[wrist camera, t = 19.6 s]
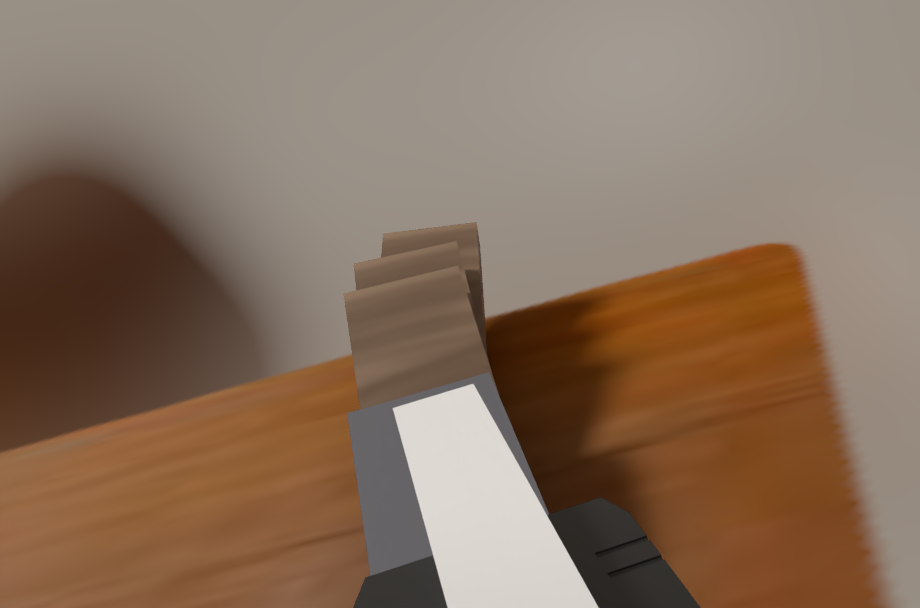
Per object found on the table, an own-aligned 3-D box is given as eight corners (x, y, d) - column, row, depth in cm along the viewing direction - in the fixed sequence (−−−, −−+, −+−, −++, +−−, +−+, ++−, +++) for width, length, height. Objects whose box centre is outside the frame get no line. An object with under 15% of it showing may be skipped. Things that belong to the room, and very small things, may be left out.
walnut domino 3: (518, 457, 25) (457, 265, 32) (372, 496, 25) (343, 293, 32) (522, 483, 26) (462, 292, 33) (382, 519, 26) (352, 319, 33)
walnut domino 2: (500, 405, 28) (456, 241, 36) (372, 434, 28) (353, 263, 35) (504, 429, 30) (461, 265, 37) (381, 457, 29) (361, 287, 37)
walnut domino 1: (485, 363, 32) (476, 222, 39) (371, 375, 32) (383, 233, 40) (489, 387, 33) (479, 245, 40) (379, 398, 34) (389, 256, 41)
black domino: (596, 625, 17) (489, 372, 26) (387, 693, 17) (347, 413, 25) (601, 664, 18) (496, 406, 26) (403, 729, 18) (359, 447, 26)
